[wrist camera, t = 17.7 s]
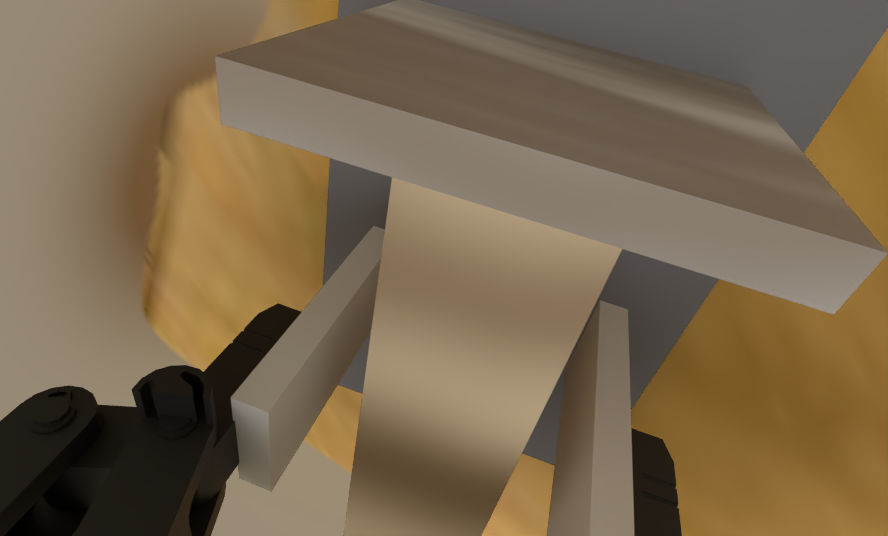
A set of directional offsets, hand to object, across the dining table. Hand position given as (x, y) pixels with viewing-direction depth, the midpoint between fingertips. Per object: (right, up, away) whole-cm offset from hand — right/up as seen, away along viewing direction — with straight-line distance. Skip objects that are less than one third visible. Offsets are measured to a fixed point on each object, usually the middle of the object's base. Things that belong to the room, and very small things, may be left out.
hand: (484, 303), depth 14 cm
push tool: (+1, +1, +3) cm, 3 cm away
